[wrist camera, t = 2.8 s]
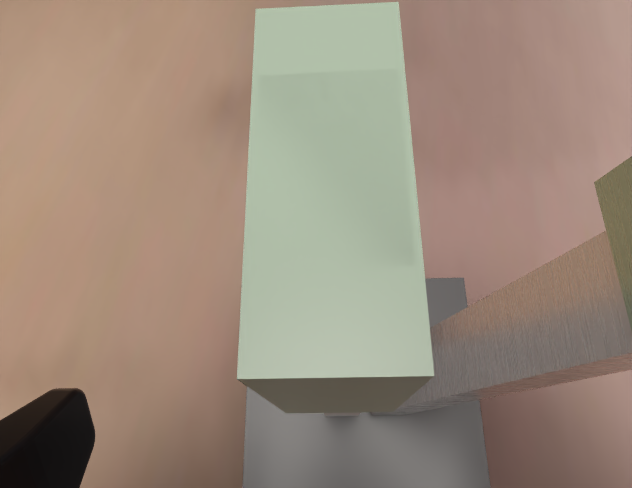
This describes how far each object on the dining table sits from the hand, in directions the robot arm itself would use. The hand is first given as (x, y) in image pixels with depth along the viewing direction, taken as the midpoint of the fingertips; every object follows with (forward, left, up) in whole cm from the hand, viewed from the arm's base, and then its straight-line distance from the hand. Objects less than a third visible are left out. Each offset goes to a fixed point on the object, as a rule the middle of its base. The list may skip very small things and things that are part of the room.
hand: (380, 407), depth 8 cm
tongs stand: (+1, 0, -9) cm, 10 cm away
